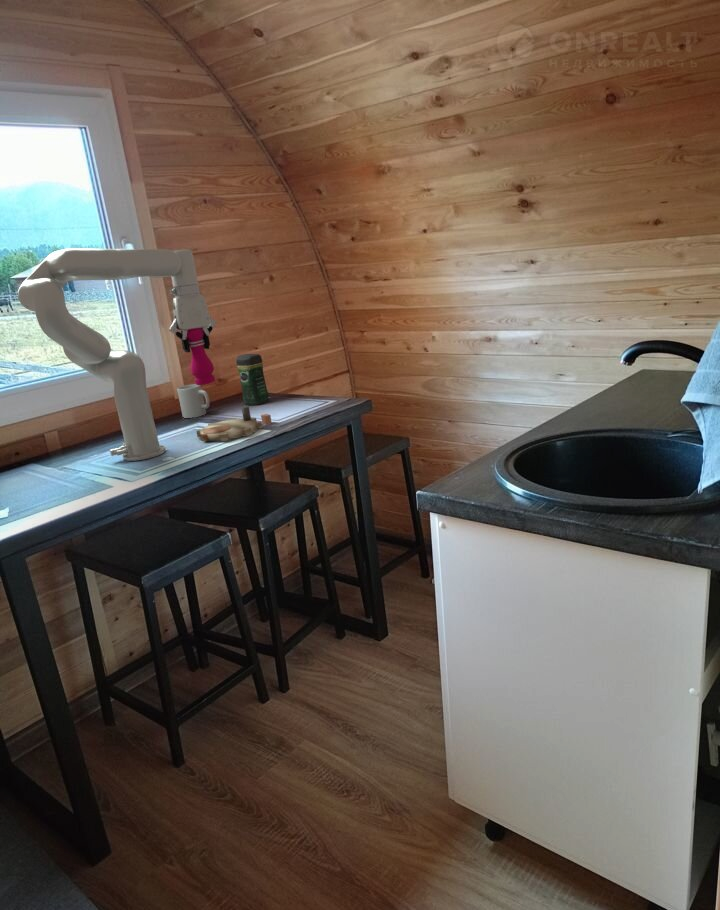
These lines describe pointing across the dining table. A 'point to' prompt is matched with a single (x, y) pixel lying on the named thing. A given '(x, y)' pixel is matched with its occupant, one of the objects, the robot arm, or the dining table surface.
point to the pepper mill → (199, 358)
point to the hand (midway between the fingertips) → (197, 349)
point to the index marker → (266, 419)
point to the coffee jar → (252, 379)
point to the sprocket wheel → (230, 428)
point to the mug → (192, 400)
